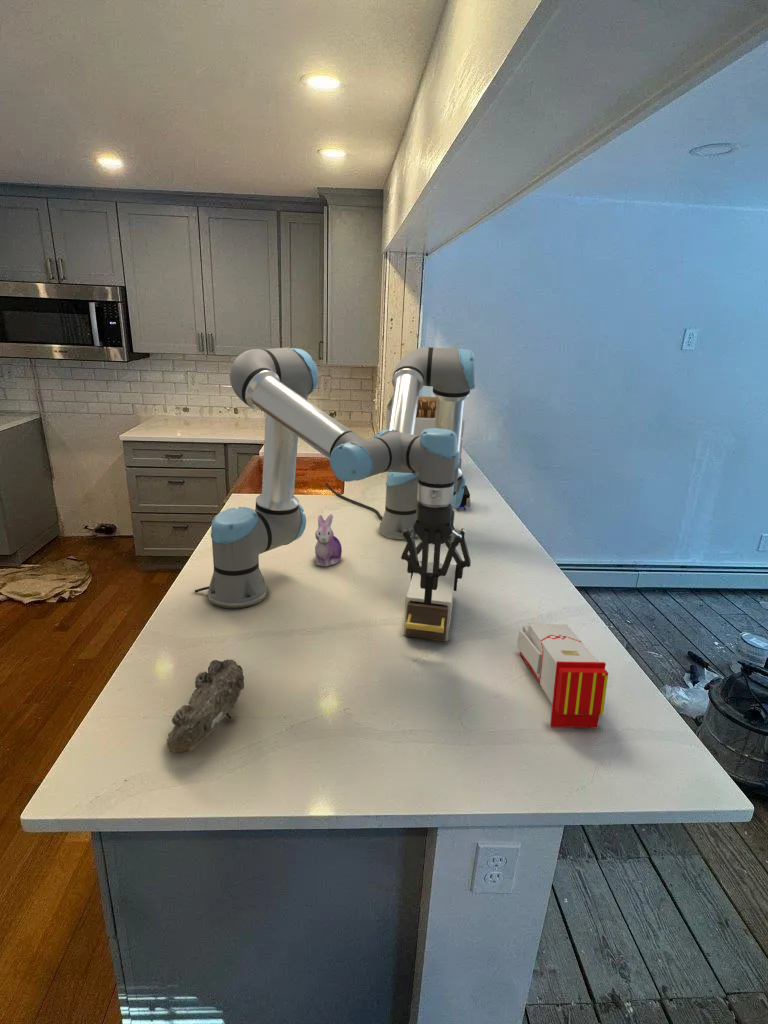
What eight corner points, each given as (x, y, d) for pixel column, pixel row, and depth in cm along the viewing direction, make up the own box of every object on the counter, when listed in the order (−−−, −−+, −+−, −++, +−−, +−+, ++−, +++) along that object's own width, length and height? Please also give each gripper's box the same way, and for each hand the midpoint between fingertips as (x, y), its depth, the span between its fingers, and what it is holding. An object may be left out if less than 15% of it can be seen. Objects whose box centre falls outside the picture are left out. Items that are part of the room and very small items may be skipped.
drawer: (443, 655, 129) (446, 622, 126) (401, 649, 131) (403, 616, 128) (450, 601, 153) (453, 572, 150) (415, 597, 155) (417, 568, 152)
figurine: (319, 569, 170) (319, 523, 165) (307, 556, 178) (307, 511, 173) (348, 564, 174) (349, 519, 169) (335, 552, 182) (336, 508, 177)
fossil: (192, 660, 117) (244, 628, 112) (224, 691, 120) (276, 661, 115) (142, 746, 98) (202, 712, 93) (182, 779, 101) (242, 748, 96)
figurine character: (470, 515, 225) (465, 499, 238) (472, 498, 221) (467, 483, 235) (453, 515, 224) (449, 499, 238) (455, 497, 221) (451, 482, 234)
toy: (562, 608, 134) (617, 669, 105) (557, 660, 137) (609, 734, 107) (511, 607, 134) (552, 667, 104) (507, 659, 136) (545, 733, 107)
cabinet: (447, 640, 137) (451, 602, 133) (403, 634, 138) (406, 596, 135) (453, 599, 156) (456, 564, 153) (414, 594, 158) (416, 560, 154)
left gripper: (401, 505, 118) (396, 605, 126) (464, 510, 116) (455, 612, 124) (406, 494, 125) (401, 590, 133) (466, 499, 123) (457, 596, 131)
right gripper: (392, 508, 142) (388, 587, 149) (486, 517, 138) (477, 598, 146) (397, 499, 149) (392, 575, 156) (486, 508, 145) (477, 585, 153)
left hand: (427, 601), depth 128 cm, fingers closed
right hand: (433, 586), depth 151 cm, fingers closed on cabinet, 11 cm apart
